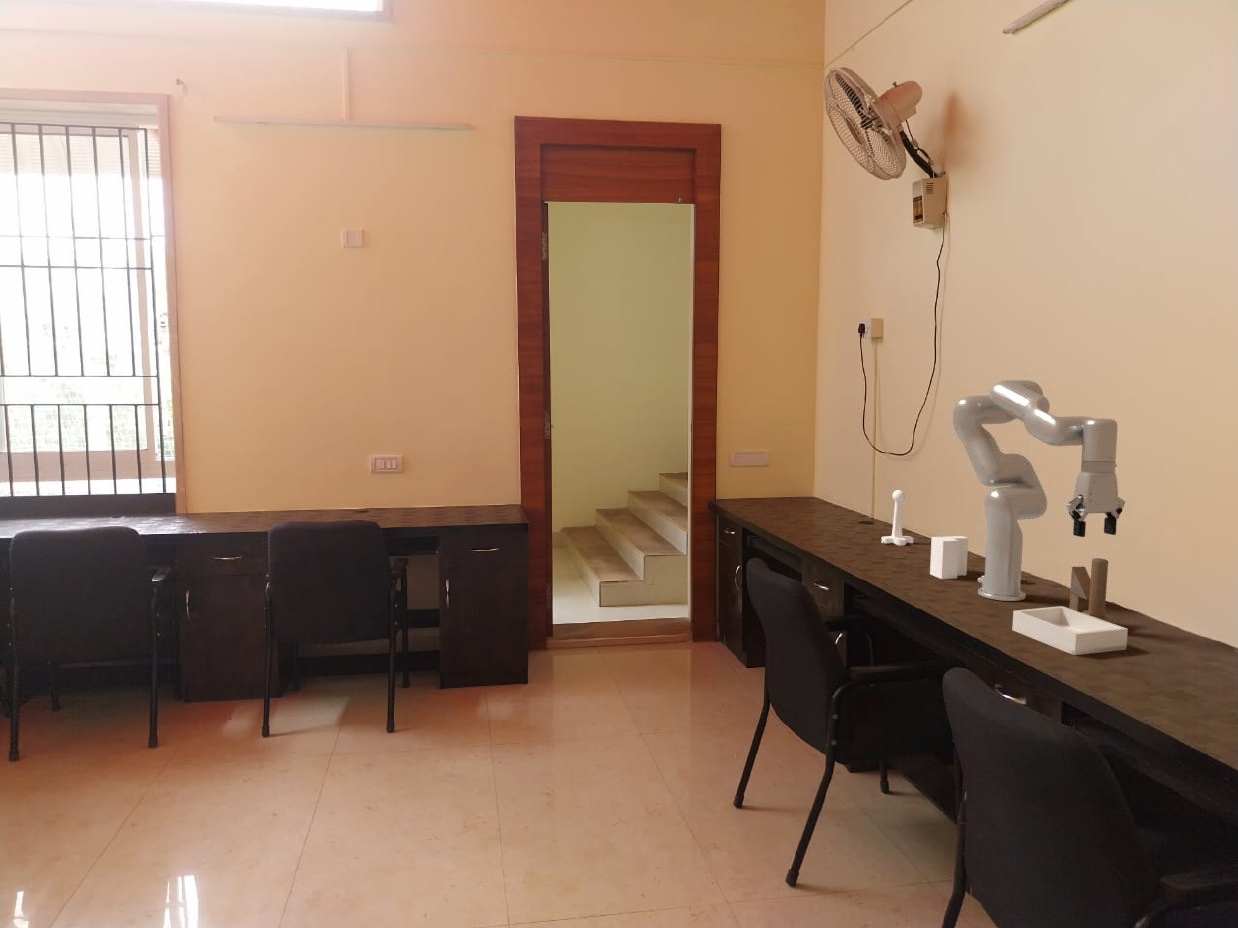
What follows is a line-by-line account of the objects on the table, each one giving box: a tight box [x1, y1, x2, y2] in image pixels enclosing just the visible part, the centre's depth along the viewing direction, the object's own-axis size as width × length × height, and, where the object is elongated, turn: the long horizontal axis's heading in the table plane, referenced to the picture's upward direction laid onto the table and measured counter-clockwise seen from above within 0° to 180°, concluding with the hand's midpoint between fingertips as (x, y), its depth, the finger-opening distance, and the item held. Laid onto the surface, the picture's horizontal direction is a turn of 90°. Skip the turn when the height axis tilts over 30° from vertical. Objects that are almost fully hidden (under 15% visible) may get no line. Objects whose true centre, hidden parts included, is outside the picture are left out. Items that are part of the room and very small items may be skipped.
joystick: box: [881, 489, 914, 547], centre depth 325 cm, size 11×8×20 cm
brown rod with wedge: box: [1069, 557, 1109, 622], centre depth 224 cm, size 4×11×18 cm, turn 5°
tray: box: [1011, 605, 1129, 656], centre depth 213 cm, size 20×15×5 cm
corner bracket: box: [929, 535, 969, 580], centre depth 279 cm, size 11×11×12 cm
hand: (1094, 535), depth 222 cm, fingers open, 9 cm apart
